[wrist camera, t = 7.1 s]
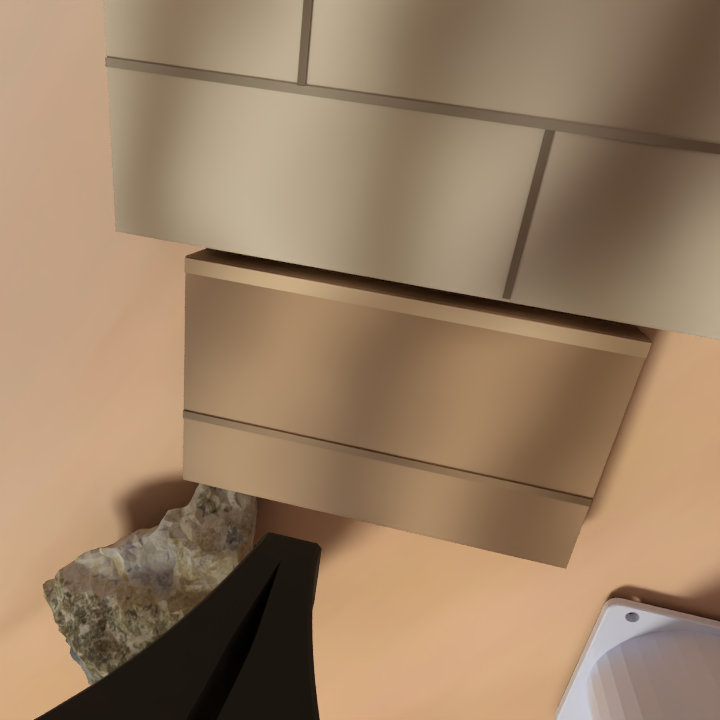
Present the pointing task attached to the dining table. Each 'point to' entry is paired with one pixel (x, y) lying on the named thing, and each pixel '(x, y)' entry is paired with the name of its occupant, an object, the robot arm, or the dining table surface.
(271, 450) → the plank
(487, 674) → the dining table surface
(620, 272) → the beige grooved panel
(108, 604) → the rock
